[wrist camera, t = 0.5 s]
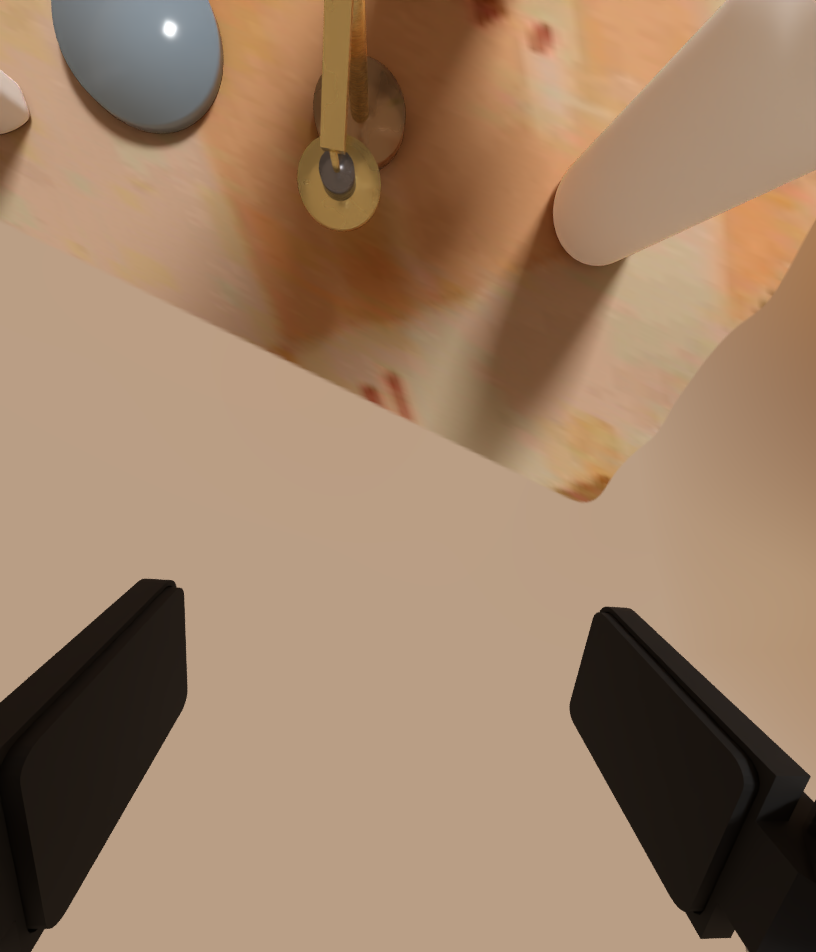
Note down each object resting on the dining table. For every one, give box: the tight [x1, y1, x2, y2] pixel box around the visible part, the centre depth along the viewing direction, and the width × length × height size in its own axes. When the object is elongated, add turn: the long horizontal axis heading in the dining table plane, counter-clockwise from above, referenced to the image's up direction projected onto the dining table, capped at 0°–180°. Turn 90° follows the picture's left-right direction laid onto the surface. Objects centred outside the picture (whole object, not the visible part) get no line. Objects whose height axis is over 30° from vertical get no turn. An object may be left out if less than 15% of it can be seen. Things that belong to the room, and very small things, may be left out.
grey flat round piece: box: [51, 0, 223, 133], centre depth 28 cm, size 11×11×1 cm
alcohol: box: [553, 0, 816, 266], centre depth 19 cm, size 9×9×30 cm
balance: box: [297, 0, 405, 232], centre depth 22 cm, size 21×7×18 cm, turn 172°
